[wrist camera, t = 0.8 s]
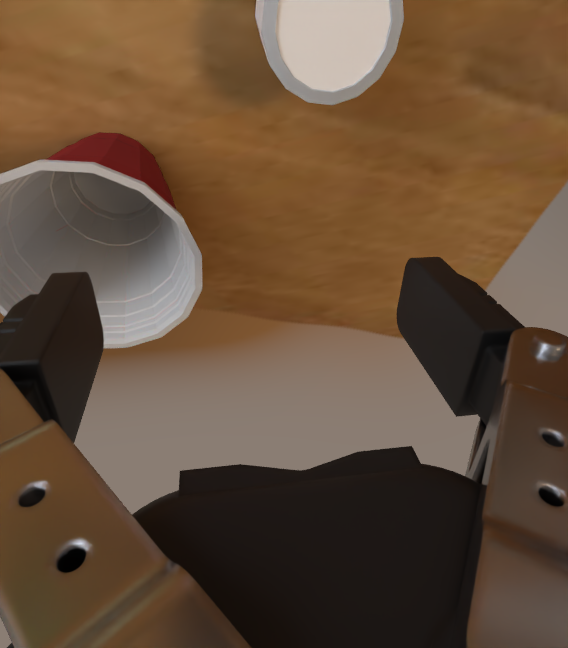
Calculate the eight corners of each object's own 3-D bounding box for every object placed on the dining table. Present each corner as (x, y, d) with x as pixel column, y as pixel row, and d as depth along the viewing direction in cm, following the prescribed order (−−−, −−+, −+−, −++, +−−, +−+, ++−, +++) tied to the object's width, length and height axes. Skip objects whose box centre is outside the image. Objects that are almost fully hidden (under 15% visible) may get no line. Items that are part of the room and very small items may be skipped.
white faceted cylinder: (276, 98, 29) (298, 131, 23) (221, -23, 24) (233, -17, 19) (373, 41, 28) (420, 62, 22) (334, -96, 23) (381, -111, 18)
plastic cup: (-2, 197, 29) (-82, 305, 20) (68, 47, 25) (6, 100, 16) (148, 272, 35) (138, 383, 26) (227, 160, 31) (247, 248, 21)
